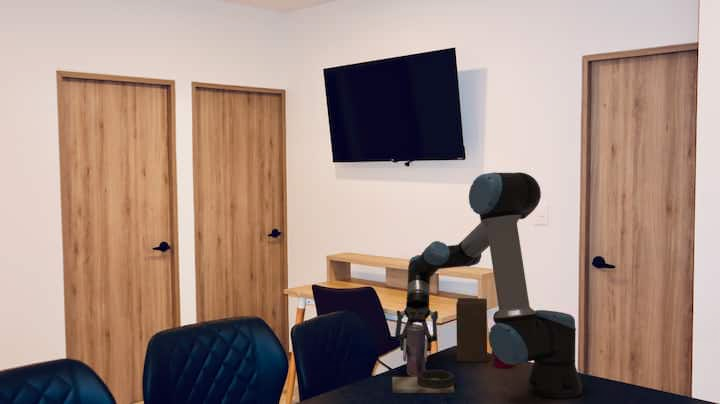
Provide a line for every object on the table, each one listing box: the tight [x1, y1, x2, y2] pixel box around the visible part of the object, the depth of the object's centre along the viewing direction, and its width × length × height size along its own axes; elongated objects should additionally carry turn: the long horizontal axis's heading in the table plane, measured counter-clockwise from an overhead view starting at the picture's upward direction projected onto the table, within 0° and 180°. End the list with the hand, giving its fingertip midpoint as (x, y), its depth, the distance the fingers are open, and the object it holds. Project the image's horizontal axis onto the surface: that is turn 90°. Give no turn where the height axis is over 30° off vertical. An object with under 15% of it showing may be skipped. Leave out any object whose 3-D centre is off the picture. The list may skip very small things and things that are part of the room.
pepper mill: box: [491, 310, 513, 369], centre depth 223 cm, size 7×7×20 cm
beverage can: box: [406, 325, 427, 377], centre depth 213 cm, size 6×6×15 cm
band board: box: [391, 369, 455, 394], centre depth 203 cm, size 18×12×3 cm, turn 88°
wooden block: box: [455, 297, 488, 363], centre depth 232 cm, size 10×10×20 cm
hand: (415, 359), depth 210 cm, fingers closed on beverage can, 6 cm apart
